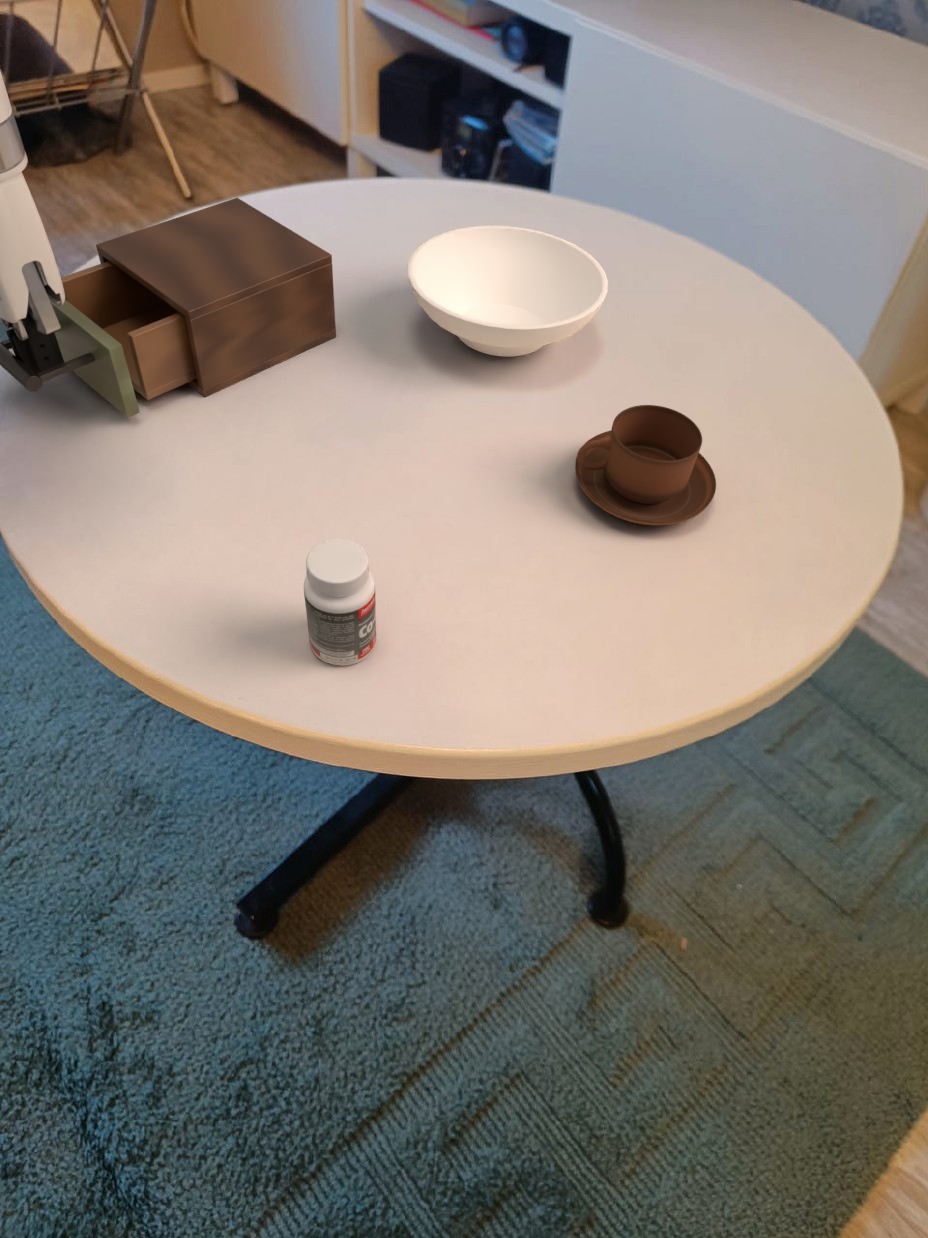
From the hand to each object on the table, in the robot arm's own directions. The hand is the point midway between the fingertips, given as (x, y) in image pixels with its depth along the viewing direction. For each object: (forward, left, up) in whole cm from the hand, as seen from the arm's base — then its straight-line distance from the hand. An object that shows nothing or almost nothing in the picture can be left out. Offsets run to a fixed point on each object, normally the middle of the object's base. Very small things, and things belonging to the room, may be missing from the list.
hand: (43, 369), depth 74 cm
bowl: (+43, +4, -4) cm, 43 cm away
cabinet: (+16, +9, -4) cm, 19 cm away
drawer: (+6, +4, -3) cm, 8 cm away
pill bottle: (+20, -32, -4) cm, 38 cm away
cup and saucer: (+48, -21, -4) cm, 52 cm away
